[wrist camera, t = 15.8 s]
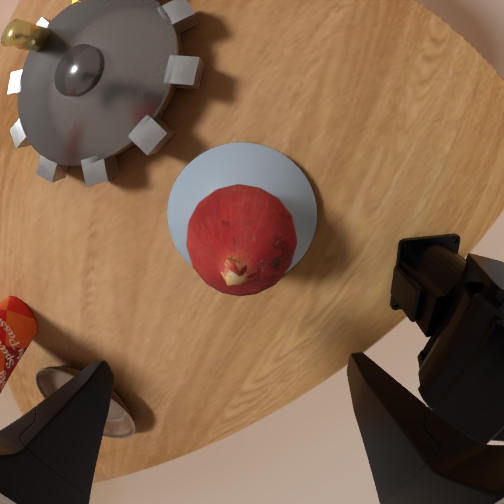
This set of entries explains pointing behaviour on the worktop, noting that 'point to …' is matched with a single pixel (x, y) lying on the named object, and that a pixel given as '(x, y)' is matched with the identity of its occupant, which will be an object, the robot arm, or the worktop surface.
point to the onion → (241, 239)
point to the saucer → (119, 415)
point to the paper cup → (14, 334)
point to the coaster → (246, 173)
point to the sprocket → (99, 82)
